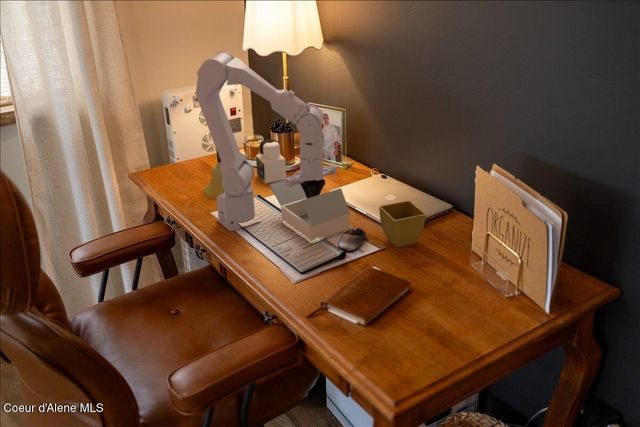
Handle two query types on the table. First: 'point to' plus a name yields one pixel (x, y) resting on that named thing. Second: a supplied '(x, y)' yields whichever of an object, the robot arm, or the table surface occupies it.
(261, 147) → the medicine bottle
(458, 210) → the table surface
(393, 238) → the flower pot
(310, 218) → the near flap
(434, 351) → the table surface
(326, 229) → the storage box
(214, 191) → the handbell
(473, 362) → the table surface
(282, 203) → the far flap
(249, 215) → the robot arm
